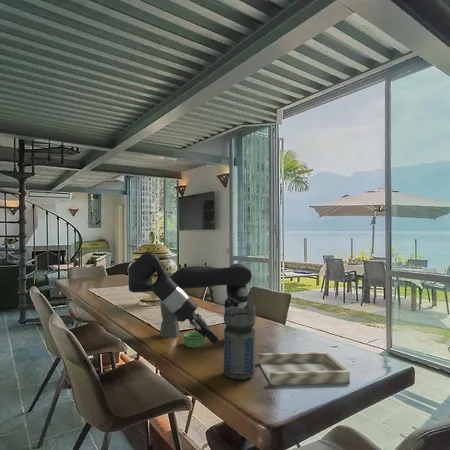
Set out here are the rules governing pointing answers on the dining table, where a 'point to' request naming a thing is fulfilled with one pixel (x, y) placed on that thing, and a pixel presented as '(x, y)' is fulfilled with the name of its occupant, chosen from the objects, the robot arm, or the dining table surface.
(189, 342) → the ramekin
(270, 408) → the dining table surface
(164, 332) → the coffeepot
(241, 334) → the beverage bottle
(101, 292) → the dining table surface
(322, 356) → the cream flat rectangular tray
